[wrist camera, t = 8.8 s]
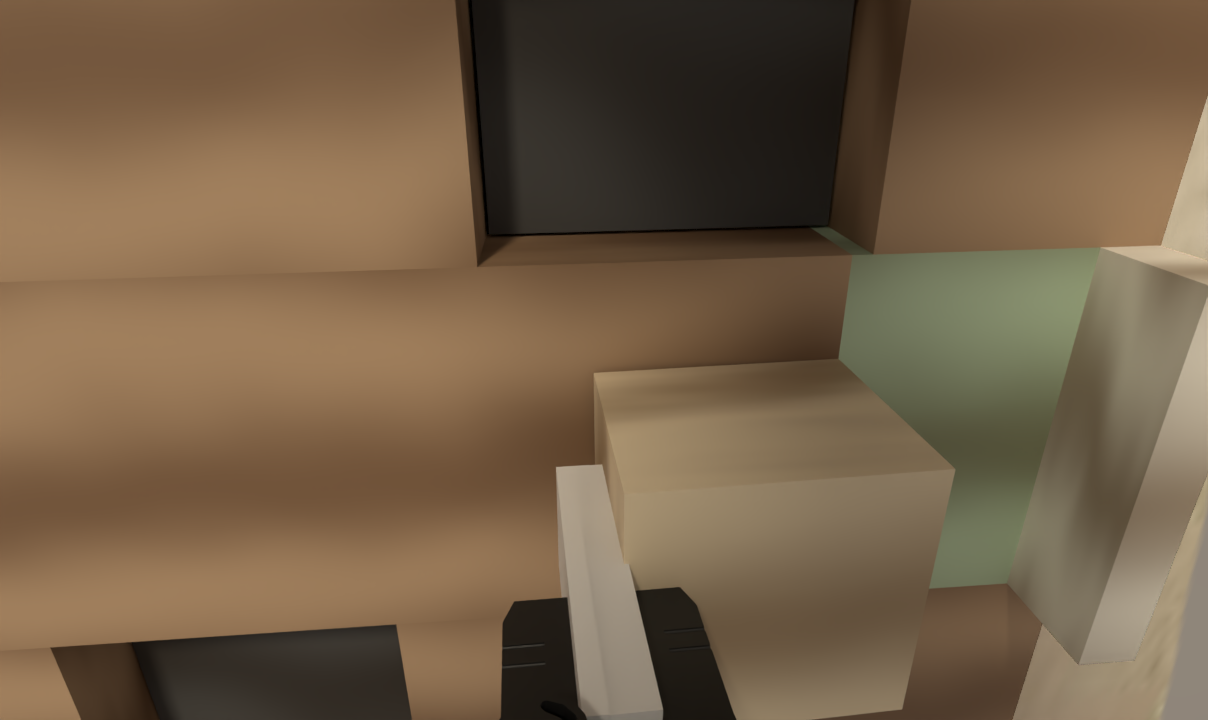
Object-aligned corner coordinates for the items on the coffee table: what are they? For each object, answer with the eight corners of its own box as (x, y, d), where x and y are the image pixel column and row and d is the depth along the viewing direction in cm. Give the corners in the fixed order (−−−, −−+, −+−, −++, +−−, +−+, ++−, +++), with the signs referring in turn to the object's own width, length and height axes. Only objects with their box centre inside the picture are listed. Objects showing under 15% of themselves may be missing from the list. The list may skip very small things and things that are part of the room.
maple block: (593, 372, 17) (623, 494, 12) (838, 358, 17) (956, 468, 13) (596, 575, 19) (623, 740, 14) (811, 557, 20) (902, 709, 15)
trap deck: (-863, -247, 13) (-1908, -467, 7) (1183, -210, 16) (1530, -351, 10) (-157, 811, 24) (-358, 1030, 19) (943, 721, 27) (1044, 890, 22)
